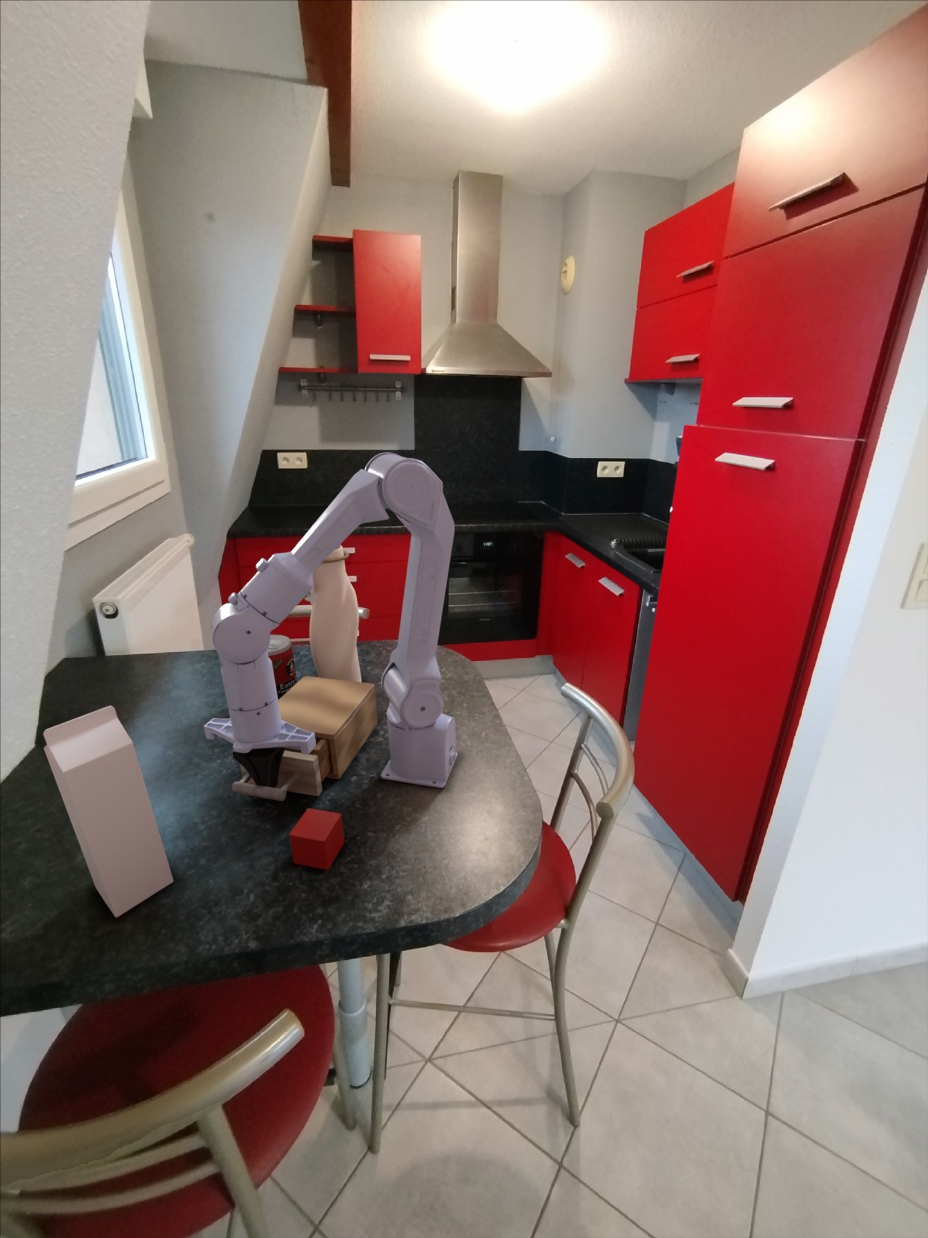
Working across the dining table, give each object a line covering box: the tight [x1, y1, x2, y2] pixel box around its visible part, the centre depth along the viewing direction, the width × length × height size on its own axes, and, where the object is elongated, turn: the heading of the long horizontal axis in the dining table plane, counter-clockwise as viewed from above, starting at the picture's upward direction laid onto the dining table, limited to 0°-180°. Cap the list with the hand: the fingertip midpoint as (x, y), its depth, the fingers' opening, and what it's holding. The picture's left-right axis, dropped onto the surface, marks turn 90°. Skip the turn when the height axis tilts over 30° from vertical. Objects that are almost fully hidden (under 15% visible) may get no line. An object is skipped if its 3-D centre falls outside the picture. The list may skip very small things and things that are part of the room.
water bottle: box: [304, 544, 363, 683], centre depth 96 cm, size 10×9×28 cm
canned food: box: [267, 634, 298, 700], centre depth 95 cm, size 8×8×11 cm
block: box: [288, 807, 345, 871], centre depth 63 cm, size 4×4×4 cm
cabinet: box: [278, 675, 379, 780], centre depth 82 cm, size 15×13×8 cm
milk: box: [42, 705, 174, 919], centre depth 55 cm, size 6×6×22 cm
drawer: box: [230, 737, 333, 802], centre depth 75 cm, size 18×11×6 cm, turn 166°
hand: (269, 788), depth 70 cm, fingers closed, pressing on drawer
